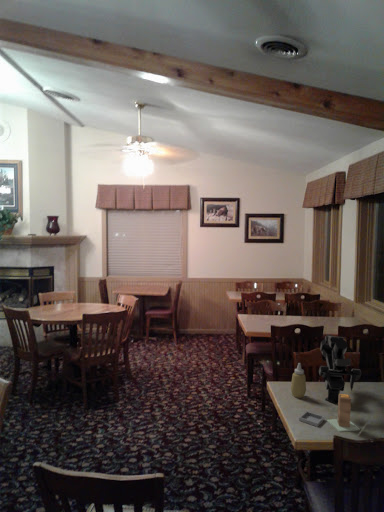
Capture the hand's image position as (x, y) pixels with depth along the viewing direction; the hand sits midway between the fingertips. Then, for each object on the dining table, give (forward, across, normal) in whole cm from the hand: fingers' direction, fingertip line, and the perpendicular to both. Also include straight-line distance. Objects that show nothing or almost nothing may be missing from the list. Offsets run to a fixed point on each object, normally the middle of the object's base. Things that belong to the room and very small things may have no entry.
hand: (341, 389), depth 183 cm
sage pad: (+16, 0, +3) cm, 16 cm away
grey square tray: (+15, -14, +4) cm, 21 cm away
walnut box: (+15, 0, +2) cm, 16 cm away
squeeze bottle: (-4, -18, +23) cm, 30 cm away
